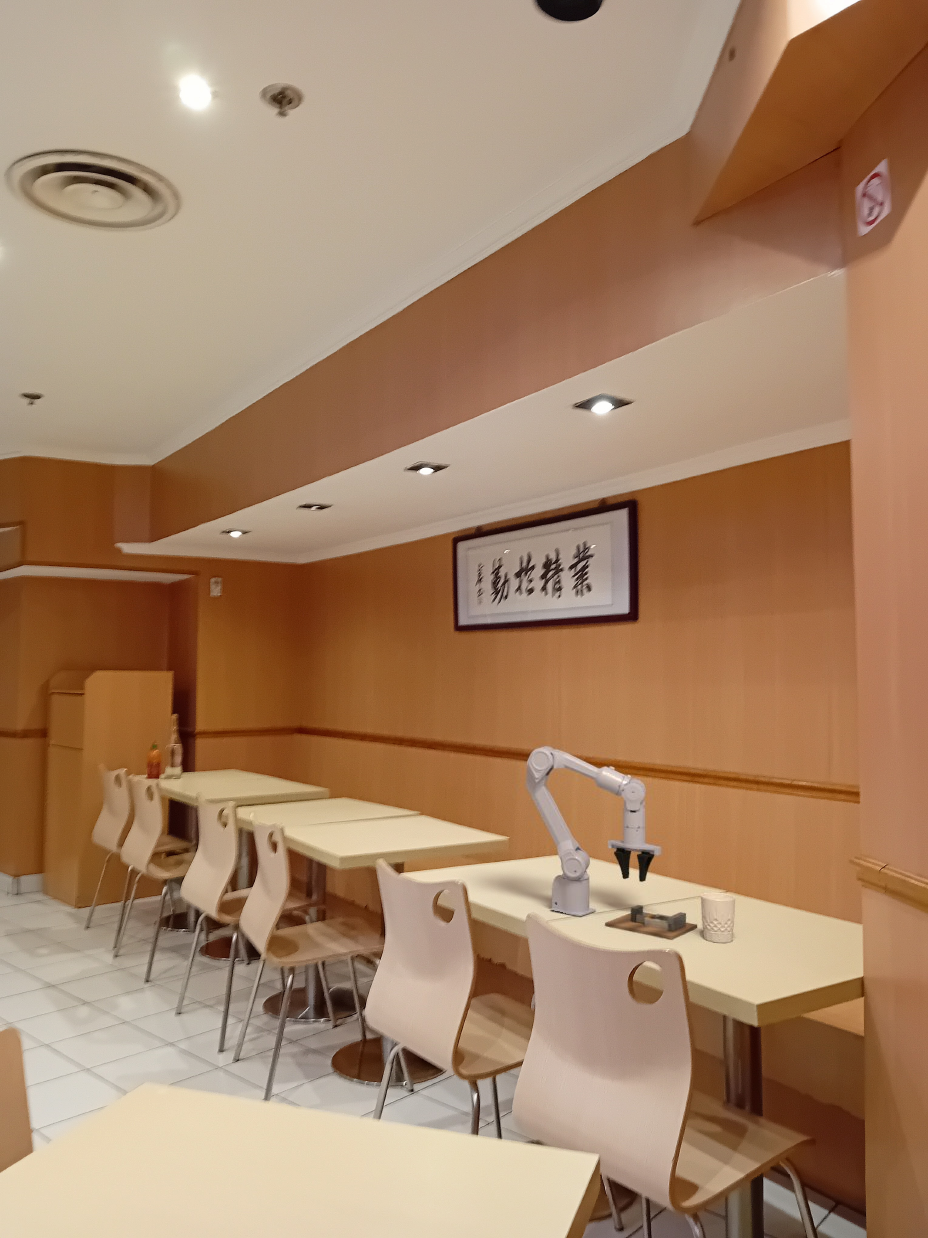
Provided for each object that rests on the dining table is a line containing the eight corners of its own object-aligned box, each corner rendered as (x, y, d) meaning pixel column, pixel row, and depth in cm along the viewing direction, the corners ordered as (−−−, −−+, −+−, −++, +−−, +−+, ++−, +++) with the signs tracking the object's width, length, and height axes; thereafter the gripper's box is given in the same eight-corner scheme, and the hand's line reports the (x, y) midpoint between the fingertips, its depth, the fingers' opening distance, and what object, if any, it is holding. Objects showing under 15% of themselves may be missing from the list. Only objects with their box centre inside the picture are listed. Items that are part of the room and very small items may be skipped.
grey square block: (627, 922, 224) (627, 909, 224) (638, 918, 229) (638, 905, 229) (649, 927, 220) (649, 914, 220) (661, 922, 225) (661, 909, 225)
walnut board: (605, 926, 224) (605, 922, 224) (632, 915, 235) (632, 912, 235) (671, 940, 213) (671, 936, 213) (697, 928, 224) (697, 924, 224)
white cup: (736, 945, 209) (736, 901, 210) (701, 942, 211) (701, 899, 212) (733, 936, 217) (733, 893, 218) (700, 933, 219) (699, 891, 219)
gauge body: (644, 926, 221) (644, 913, 222) (657, 921, 227) (657, 908, 227) (673, 932, 217) (673, 918, 217) (686, 926, 222) (686, 913, 222)
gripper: (666, 828, 234) (666, 881, 233) (617, 822, 243) (617, 873, 242) (653, 831, 228) (653, 886, 227) (603, 825, 238) (603, 877, 237)
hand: (634, 879), depth 234 cm, fingers open, 4 cm apart
